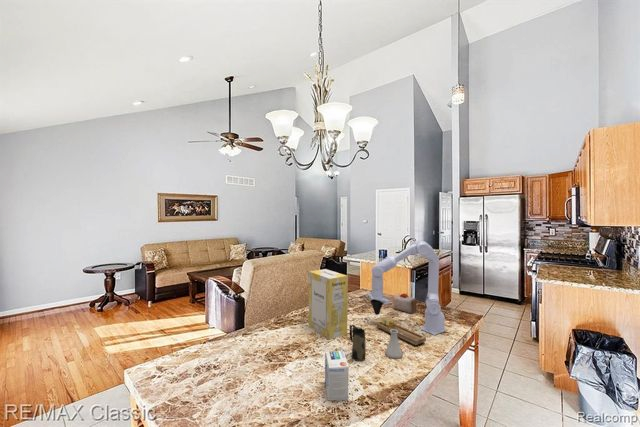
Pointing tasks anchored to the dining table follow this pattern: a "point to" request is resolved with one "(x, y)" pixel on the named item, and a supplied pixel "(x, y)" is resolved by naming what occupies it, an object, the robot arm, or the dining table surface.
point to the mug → (358, 343)
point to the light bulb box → (336, 375)
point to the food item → (405, 303)
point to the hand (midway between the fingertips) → (377, 314)
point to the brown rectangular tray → (404, 334)
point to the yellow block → (388, 322)
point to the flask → (393, 346)
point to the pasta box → (328, 302)
